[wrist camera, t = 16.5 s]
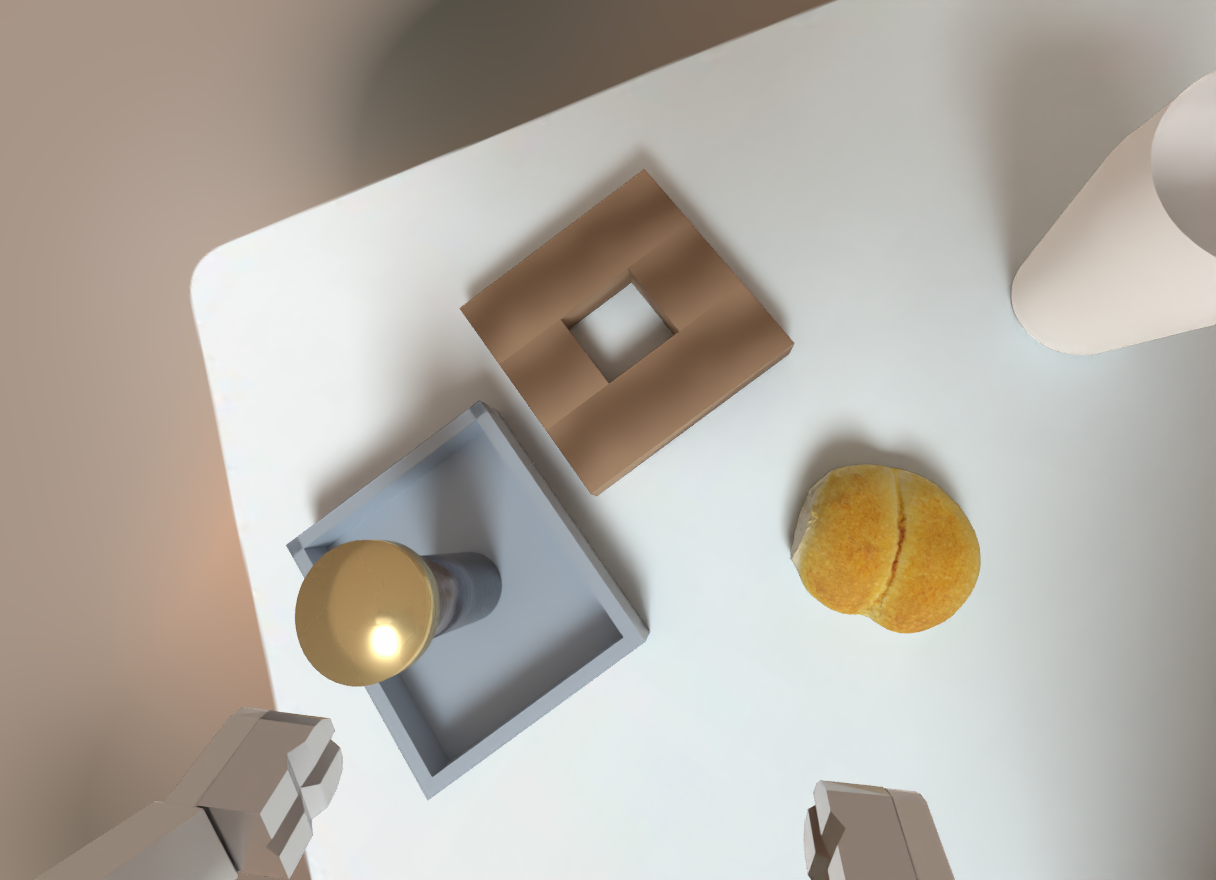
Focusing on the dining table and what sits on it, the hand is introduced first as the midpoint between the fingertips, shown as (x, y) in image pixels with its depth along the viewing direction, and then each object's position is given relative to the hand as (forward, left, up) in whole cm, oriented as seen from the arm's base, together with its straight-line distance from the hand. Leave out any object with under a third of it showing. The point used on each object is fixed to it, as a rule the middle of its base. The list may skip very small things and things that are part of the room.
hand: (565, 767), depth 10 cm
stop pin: (+7, +8, -23) cm, 26 cm away
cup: (0, -29, -24) cm, 37 cm away
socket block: (+14, -8, -24) cm, 29 cm away
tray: (+7, +8, -24) cm, 26 cm away
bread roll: (-4, -11, -24) cm, 27 cm away
